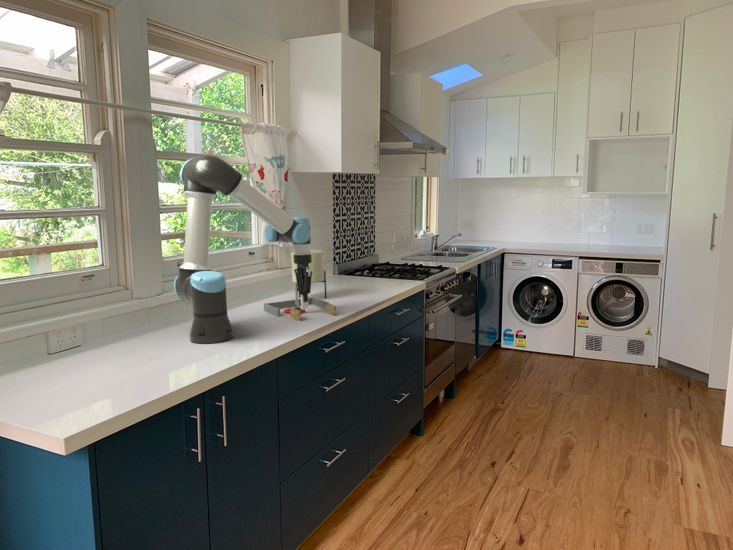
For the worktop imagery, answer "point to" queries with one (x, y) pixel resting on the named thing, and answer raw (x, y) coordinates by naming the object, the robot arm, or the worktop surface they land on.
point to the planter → (313, 268)
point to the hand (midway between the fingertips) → (304, 309)
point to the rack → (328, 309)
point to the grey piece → (290, 305)
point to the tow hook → (295, 302)
